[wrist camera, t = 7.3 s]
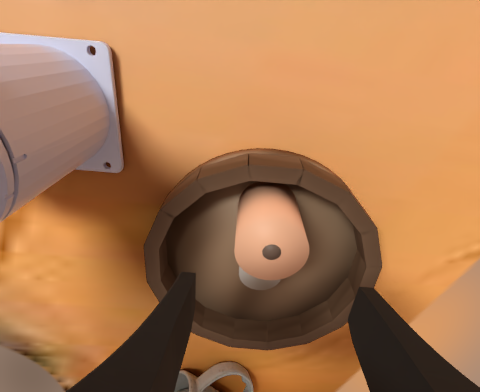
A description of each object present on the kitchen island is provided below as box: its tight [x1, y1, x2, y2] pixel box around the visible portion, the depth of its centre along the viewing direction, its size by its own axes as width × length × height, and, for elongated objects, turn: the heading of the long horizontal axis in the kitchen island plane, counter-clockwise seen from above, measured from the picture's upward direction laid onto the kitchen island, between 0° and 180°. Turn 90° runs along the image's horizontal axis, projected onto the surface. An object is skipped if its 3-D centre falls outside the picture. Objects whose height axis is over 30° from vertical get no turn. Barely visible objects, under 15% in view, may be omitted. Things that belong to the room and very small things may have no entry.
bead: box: [234, 181, 309, 280], centre depth 18 cm, size 4×4×5 cm
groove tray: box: [144, 148, 382, 350], centre depth 22 cm, size 16×16×3 cm
